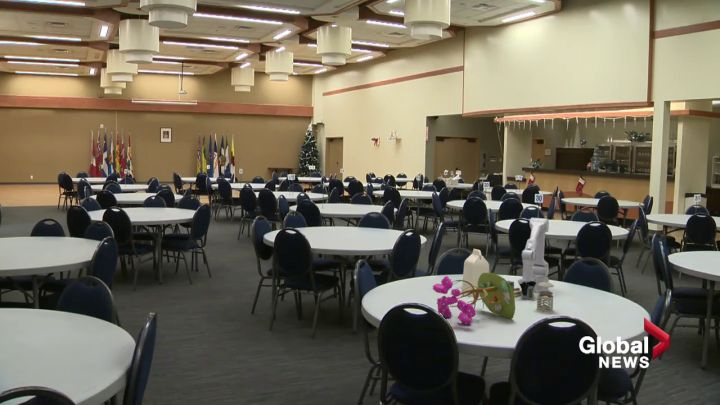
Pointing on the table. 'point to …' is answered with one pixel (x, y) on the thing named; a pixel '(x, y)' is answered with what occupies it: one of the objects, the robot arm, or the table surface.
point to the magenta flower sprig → (490, 290)
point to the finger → (528, 293)
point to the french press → (544, 298)
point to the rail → (515, 289)
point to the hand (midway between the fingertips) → (527, 294)
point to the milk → (474, 270)
